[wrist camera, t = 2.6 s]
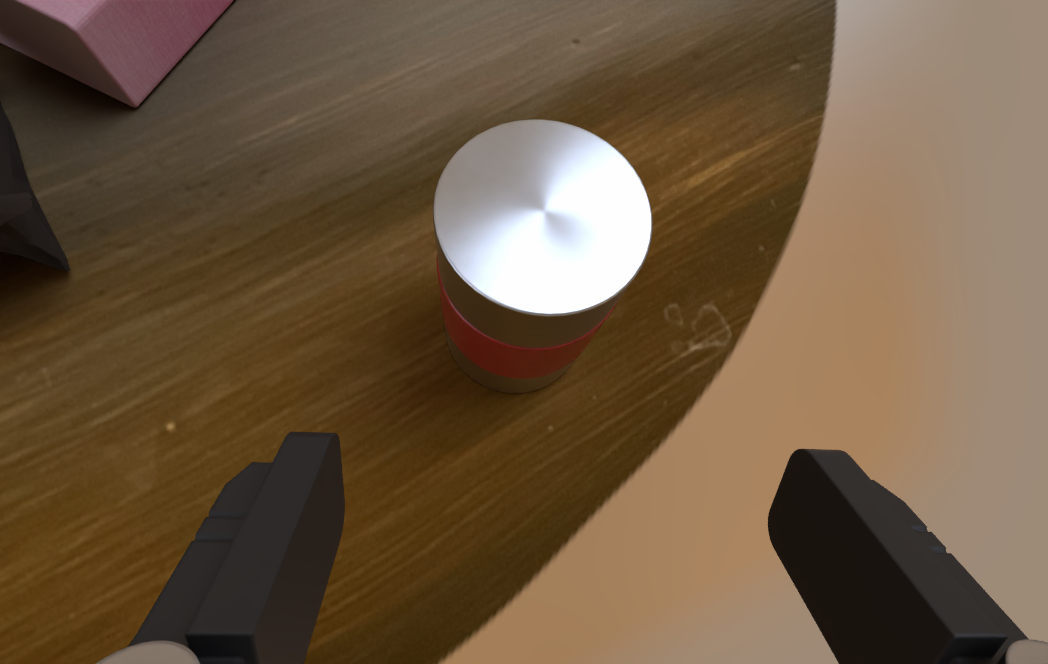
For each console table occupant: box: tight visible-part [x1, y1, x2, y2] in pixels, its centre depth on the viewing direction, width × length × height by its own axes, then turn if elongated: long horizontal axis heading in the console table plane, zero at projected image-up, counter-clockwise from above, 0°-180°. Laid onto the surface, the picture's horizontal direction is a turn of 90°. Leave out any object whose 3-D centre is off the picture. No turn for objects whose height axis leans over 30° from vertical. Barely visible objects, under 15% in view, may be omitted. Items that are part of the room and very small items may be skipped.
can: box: [433, 119, 652, 393], centre depth 20 cm, size 6×6×10 cm
